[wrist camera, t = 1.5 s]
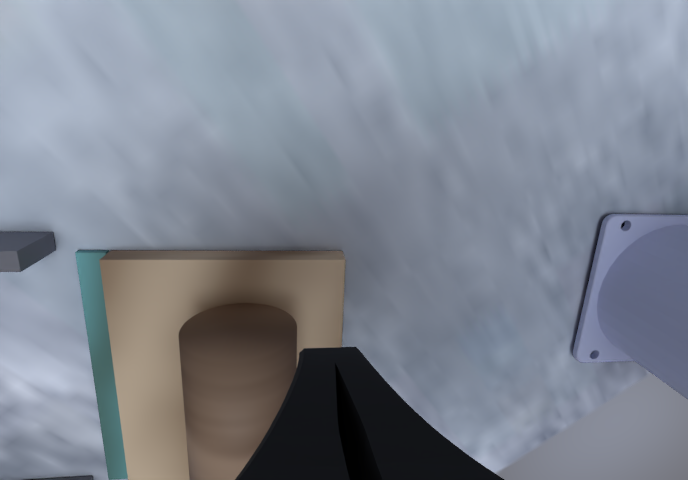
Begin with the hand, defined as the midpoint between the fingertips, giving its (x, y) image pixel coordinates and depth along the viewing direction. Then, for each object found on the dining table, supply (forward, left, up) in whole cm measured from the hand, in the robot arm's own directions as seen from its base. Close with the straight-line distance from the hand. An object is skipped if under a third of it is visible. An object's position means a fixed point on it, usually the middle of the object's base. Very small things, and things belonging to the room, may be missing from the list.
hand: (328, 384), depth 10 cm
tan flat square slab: (+4, +6, -10) cm, 12 cm away
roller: (+3, +6, -6) cm, 9 cm away
